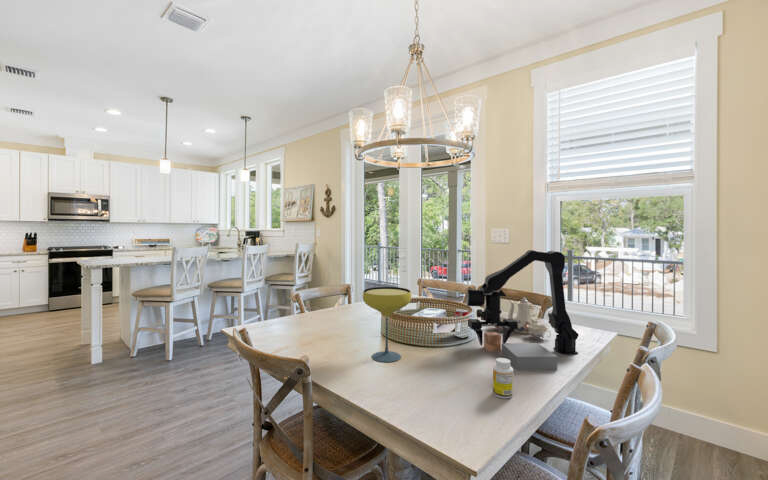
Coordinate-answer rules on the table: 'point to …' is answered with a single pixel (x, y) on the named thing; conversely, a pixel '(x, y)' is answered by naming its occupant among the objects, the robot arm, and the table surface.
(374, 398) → the table surface
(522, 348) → the gray block
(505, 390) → the supplement bottle
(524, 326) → the chinaware
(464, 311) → the soda can
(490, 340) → the terracotta cube
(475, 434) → the table surface
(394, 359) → the cocktail glass
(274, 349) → the table surface
